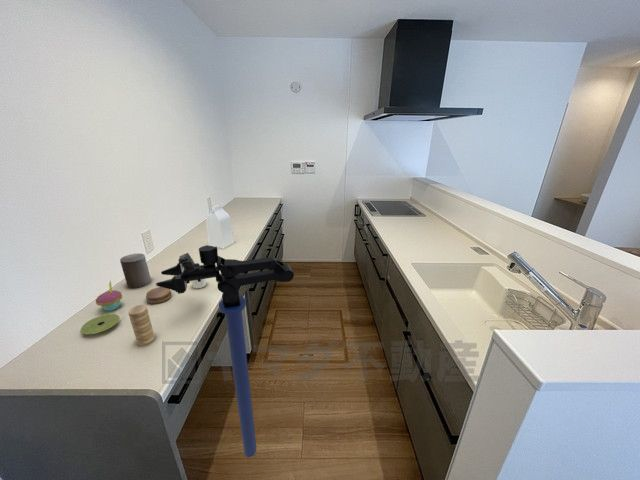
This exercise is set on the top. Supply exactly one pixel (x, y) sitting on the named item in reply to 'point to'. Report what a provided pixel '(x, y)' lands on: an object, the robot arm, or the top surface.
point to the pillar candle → (135, 270)
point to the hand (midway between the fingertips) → (159, 278)
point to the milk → (219, 228)
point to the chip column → (141, 324)
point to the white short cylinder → (199, 283)
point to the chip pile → (158, 295)
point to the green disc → (99, 324)
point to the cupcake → (109, 299)
